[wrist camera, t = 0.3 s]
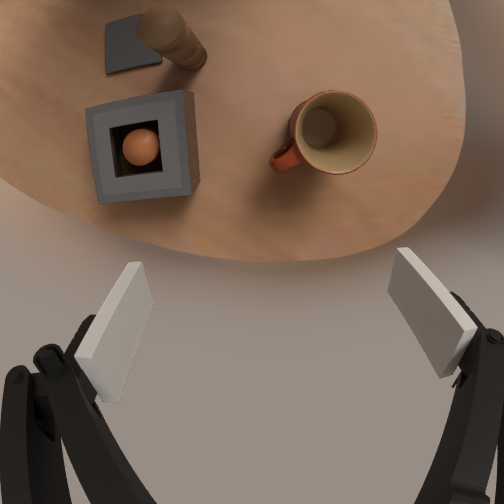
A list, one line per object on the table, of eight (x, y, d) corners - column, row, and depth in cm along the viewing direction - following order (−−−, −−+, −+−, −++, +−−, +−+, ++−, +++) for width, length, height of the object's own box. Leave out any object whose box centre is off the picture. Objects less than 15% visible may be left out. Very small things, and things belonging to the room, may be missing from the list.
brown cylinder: (177, 46, 30) (135, 11, 16) (206, 43, 30) (181, 2, 16) (178, 72, 32) (135, 51, 18) (207, 69, 32) (182, 42, 18)
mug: (323, 83, 33) (350, 75, 24) (357, 138, 36) (390, 149, 27) (247, 130, 36) (248, 136, 27) (284, 183, 39) (297, 207, 30)
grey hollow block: (109, 107, 33) (85, 108, 27) (193, 93, 33) (183, 89, 27) (119, 188, 39) (98, 204, 32) (200, 180, 39) (191, 195, 32)
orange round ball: (129, 130, 33) (120, 132, 30) (162, 125, 33) (155, 126, 30) (133, 163, 35) (125, 167, 32) (165, 159, 35) (159, 163, 32)
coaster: (107, 24, 27) (105, 23, 27) (161, 11, 27) (160, 9, 27) (107, 74, 31) (105, 73, 30) (162, 62, 31) (160, 61, 30)
